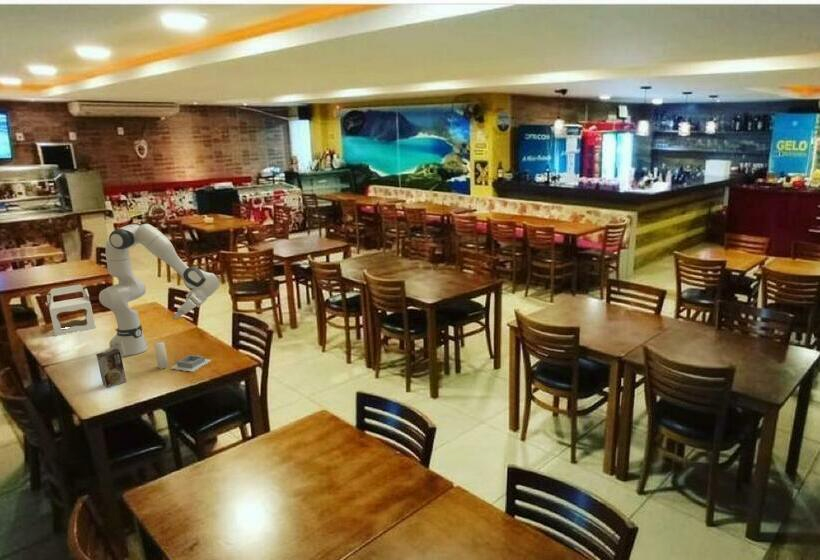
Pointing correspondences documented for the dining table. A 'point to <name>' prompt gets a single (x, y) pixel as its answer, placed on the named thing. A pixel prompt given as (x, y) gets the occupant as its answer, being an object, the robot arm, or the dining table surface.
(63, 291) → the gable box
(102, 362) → the coffee box
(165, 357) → the peg
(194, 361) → the socket
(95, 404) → the dining table surface
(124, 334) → the robot arm
